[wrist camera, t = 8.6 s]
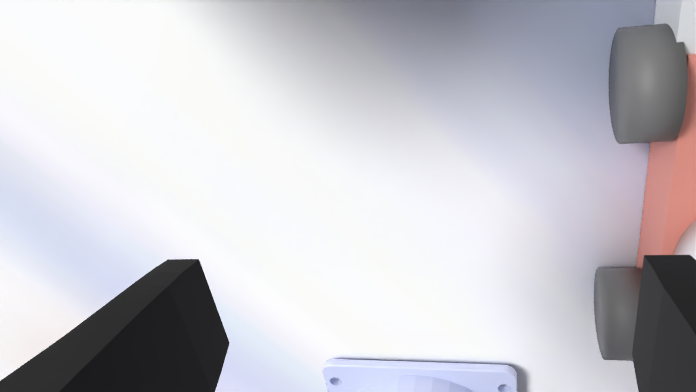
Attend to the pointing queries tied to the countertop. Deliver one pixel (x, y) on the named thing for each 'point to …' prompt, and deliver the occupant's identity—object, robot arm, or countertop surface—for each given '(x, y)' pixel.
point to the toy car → (652, 155)
